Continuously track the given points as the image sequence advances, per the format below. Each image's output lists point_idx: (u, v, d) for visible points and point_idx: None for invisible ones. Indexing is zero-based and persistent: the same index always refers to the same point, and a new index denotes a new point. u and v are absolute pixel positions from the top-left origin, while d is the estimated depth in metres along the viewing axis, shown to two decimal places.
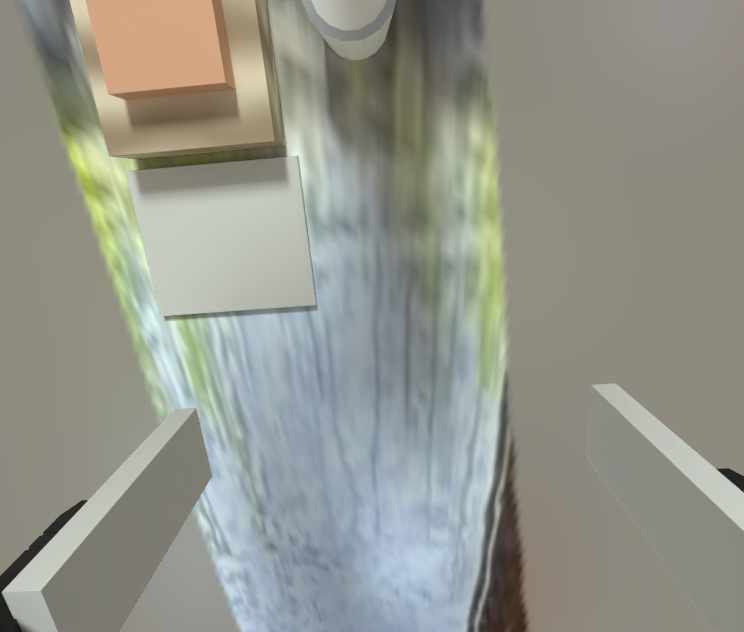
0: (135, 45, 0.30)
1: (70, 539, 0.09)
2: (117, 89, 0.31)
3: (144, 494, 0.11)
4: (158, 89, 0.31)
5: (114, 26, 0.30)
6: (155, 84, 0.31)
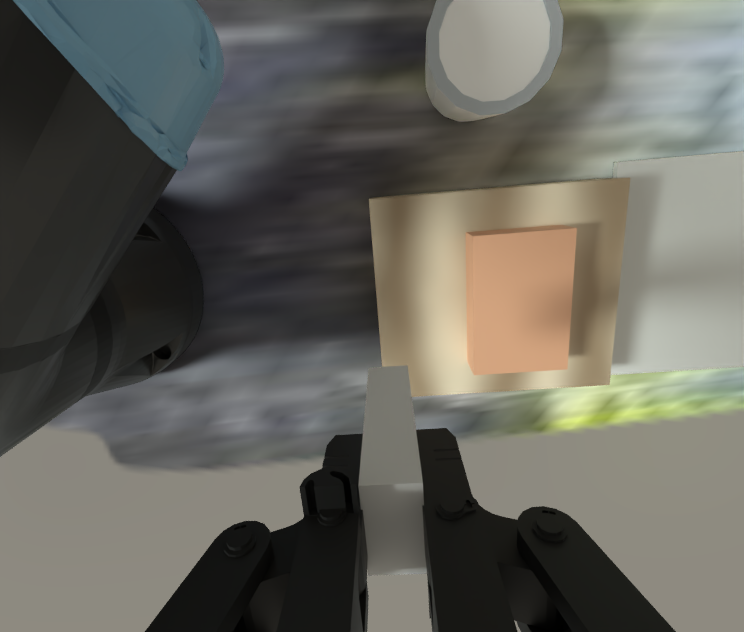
0: (522, 330, 0.26)
1: (378, 453, 0.11)
2: (564, 358, 0.26)
3: None
4: None
5: (501, 349, 0.26)
6: (565, 314, 0.25)
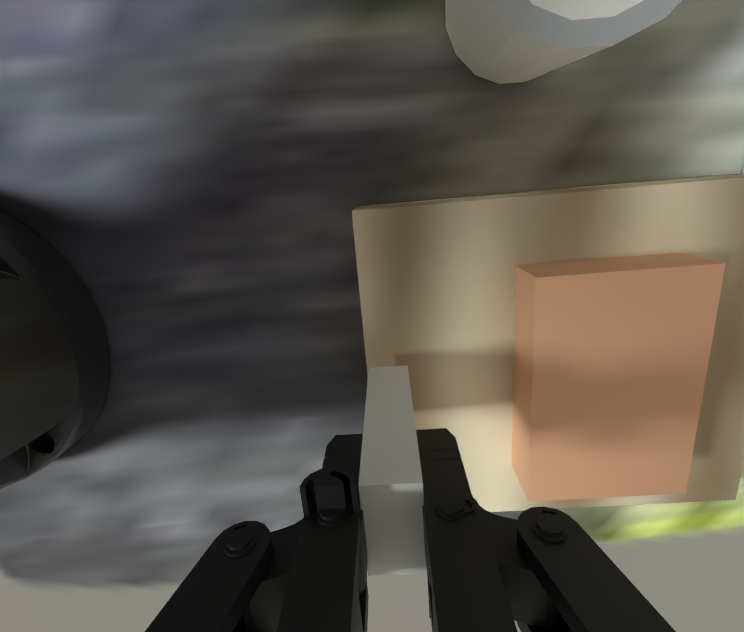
0: (614, 433, 0.15)
1: (378, 453, 0.11)
2: (681, 476, 0.16)
3: None
4: (700, 404, 0.15)
5: (576, 463, 0.16)
6: (691, 408, 0.15)
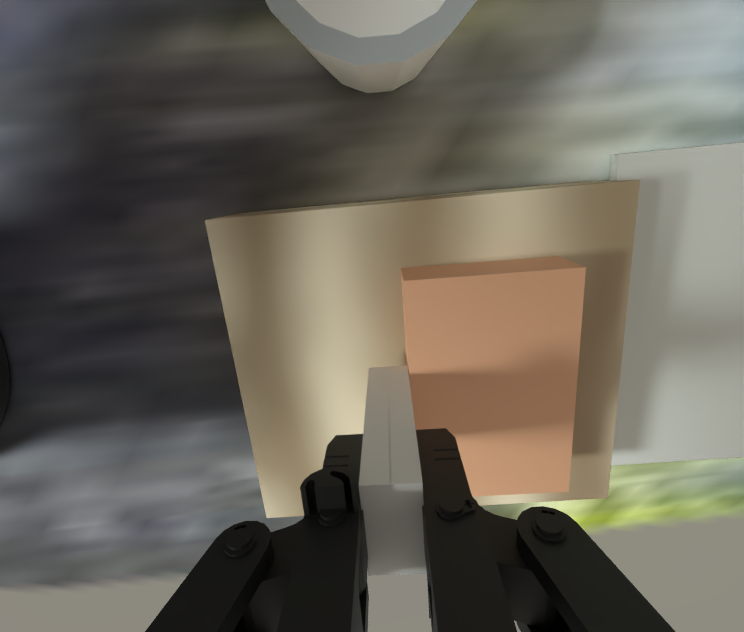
0: (494, 433, 0.16)
1: (378, 453, 0.11)
2: (563, 475, 0.16)
3: None
4: None
5: None
6: (566, 408, 0.15)
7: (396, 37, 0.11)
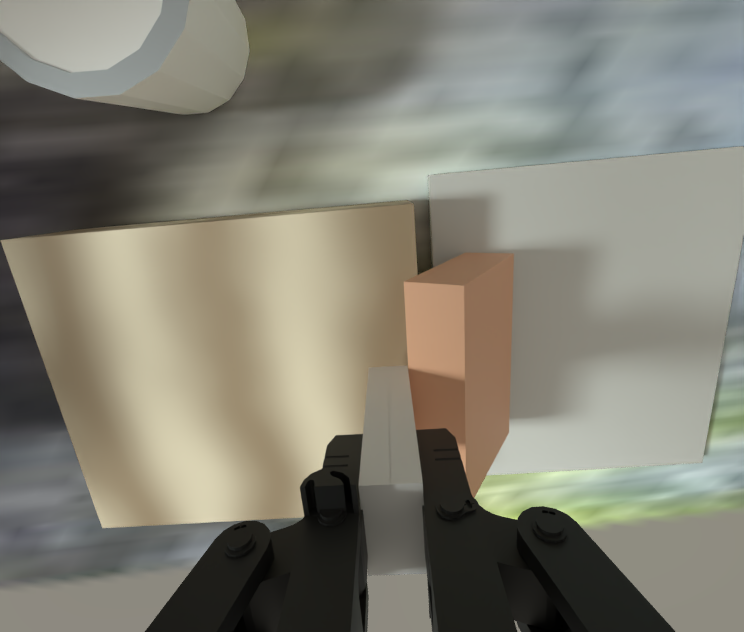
0: (491, 409, 0.17)
1: (378, 453, 0.11)
2: (507, 421, 0.20)
3: None
4: (510, 361, 0.19)
5: (481, 450, 0.17)
6: (508, 366, 0.19)
7: (106, 72, 0.11)
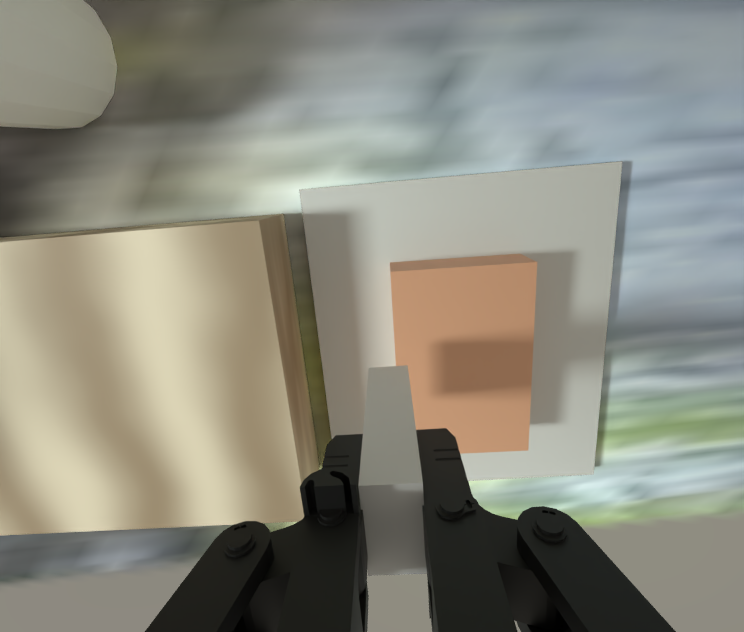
0: None
1: (378, 453, 0.11)
2: None
3: None
4: None
5: None
6: None
7: None
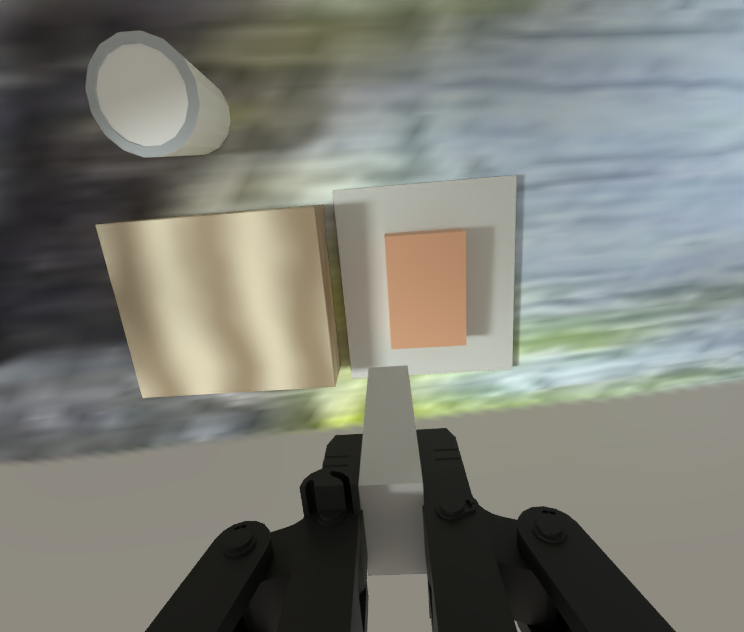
0: None
1: (378, 453, 0.11)
2: None
3: None
4: None
5: None
6: None
7: (159, 146, 0.25)
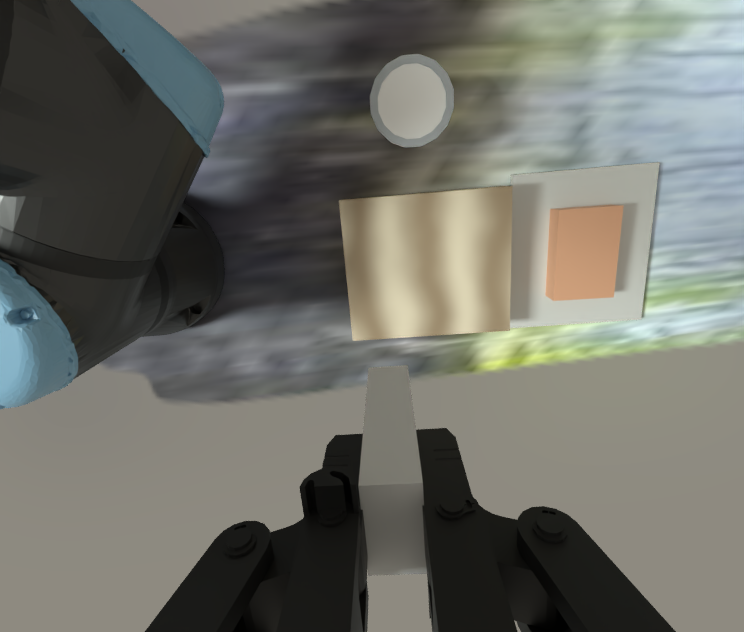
0: None
1: (378, 453, 0.11)
2: None
3: None
4: (547, 259, 0.43)
5: None
6: None
7: (418, 139, 0.34)
